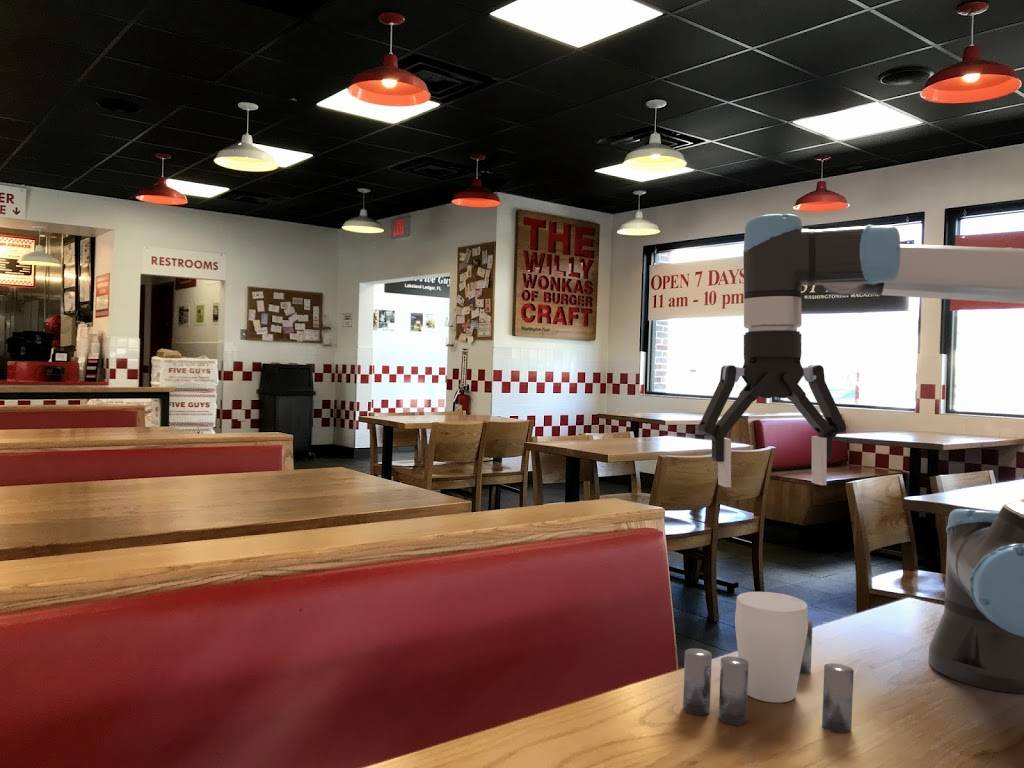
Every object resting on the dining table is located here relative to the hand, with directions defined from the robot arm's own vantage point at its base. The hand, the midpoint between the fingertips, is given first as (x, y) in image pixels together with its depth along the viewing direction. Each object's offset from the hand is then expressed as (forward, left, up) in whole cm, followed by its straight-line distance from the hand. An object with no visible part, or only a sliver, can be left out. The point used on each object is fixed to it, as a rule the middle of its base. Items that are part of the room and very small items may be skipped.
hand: (772, 485), depth 109 cm
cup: (+1, +7, -26) cm, 27 cm away
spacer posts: (+3, +7, -26) cm, 27 cm away
